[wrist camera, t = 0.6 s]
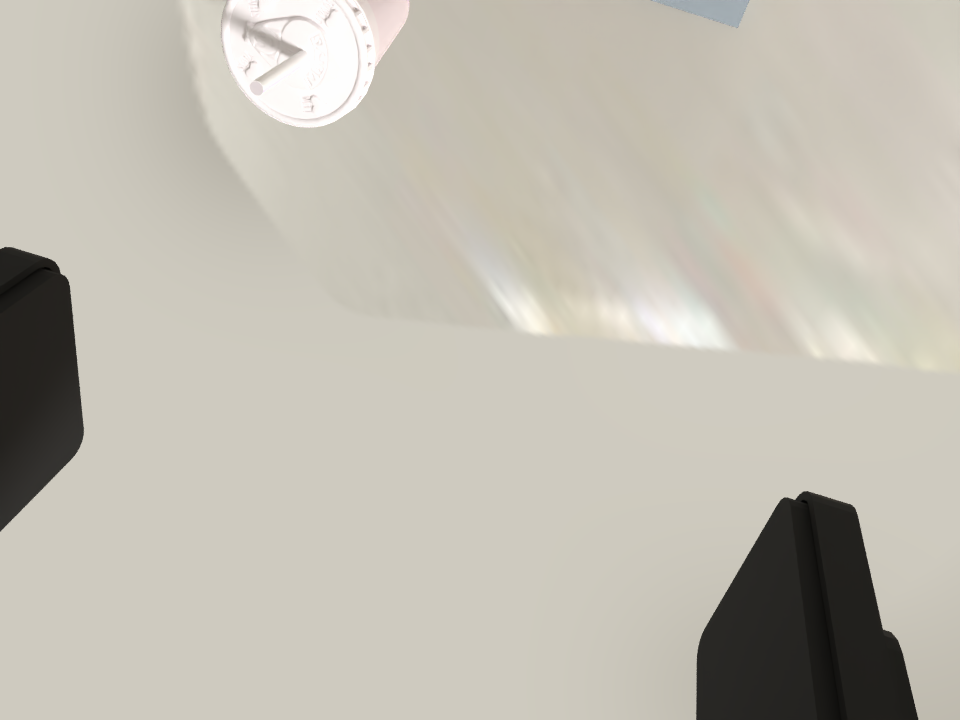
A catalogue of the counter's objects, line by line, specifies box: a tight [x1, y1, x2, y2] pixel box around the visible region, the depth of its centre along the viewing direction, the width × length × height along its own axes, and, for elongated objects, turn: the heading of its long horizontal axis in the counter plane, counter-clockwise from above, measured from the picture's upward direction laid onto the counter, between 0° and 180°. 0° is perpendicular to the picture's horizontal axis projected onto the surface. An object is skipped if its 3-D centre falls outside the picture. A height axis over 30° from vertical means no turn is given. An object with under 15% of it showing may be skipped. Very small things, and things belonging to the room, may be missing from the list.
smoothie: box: [221, 0, 409, 127], centre depth 35 cm, size 6×6×14 cm
